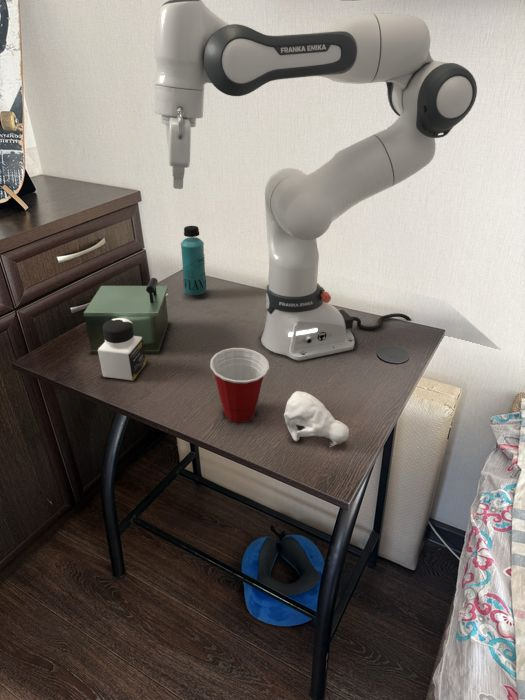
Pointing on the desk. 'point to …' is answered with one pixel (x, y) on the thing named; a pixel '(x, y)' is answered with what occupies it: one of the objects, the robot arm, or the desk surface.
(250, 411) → the plastic cup
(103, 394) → the desk surface
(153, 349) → the green open box
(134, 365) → the medicine bottle
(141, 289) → the lid
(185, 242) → the beverage bottle
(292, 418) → the white figurine
